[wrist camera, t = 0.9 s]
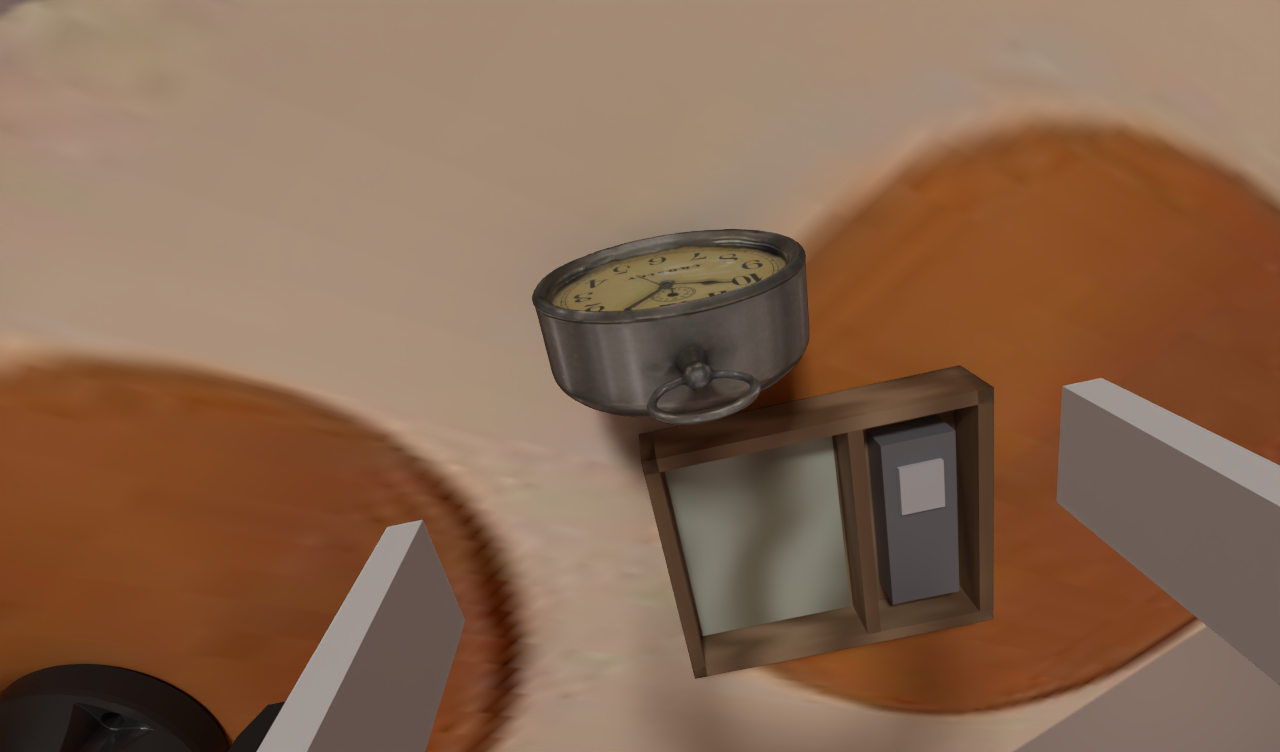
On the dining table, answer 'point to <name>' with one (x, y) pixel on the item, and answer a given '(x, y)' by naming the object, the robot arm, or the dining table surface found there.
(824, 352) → the dining table surface
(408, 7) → the dining table surface
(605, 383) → the alarm clock
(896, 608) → the organizer tray
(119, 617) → the dining table surface
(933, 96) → the dining table surface
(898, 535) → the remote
